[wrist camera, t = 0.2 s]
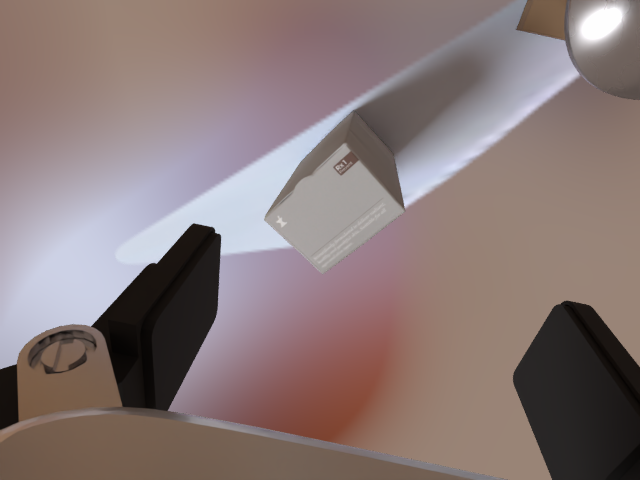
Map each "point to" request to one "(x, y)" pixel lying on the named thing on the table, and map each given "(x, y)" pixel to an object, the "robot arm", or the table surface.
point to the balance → (605, 44)
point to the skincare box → (338, 195)
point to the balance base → (544, 18)
